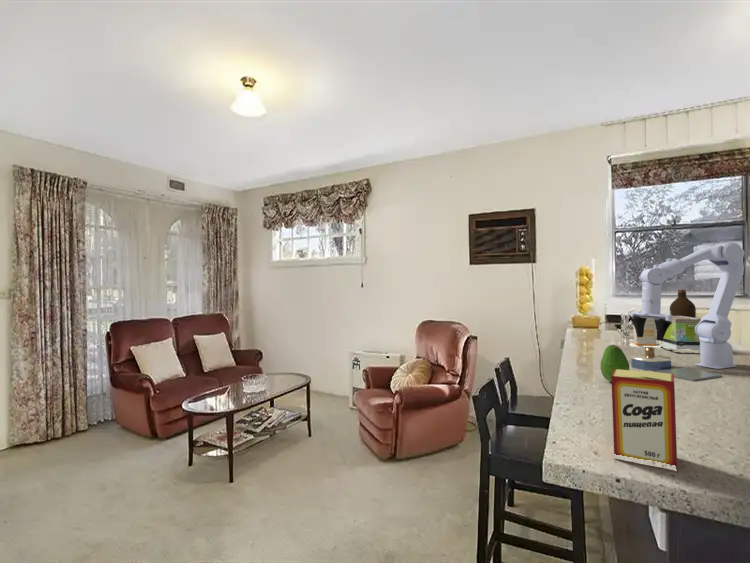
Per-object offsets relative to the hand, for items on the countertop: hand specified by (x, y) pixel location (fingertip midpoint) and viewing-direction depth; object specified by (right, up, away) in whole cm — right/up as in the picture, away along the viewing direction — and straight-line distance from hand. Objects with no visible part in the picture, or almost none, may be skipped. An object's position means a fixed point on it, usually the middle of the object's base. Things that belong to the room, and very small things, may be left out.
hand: (649, 338), depth 148 cm
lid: (0, -7, 0) cm, 7 cm away
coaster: (+4, -10, -13) cm, 17 cm away
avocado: (-24, -12, -19) cm, 32 cm away
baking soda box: (-50, -12, -72) cm, 89 cm away
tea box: (+32, -10, +28) cm, 44 cm away
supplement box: (+29, -10, +46) cm, 55 cm away
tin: (+1, -10, 0) cm, 10 cm away
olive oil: (+56, -9, +58) cm, 82 cm away
